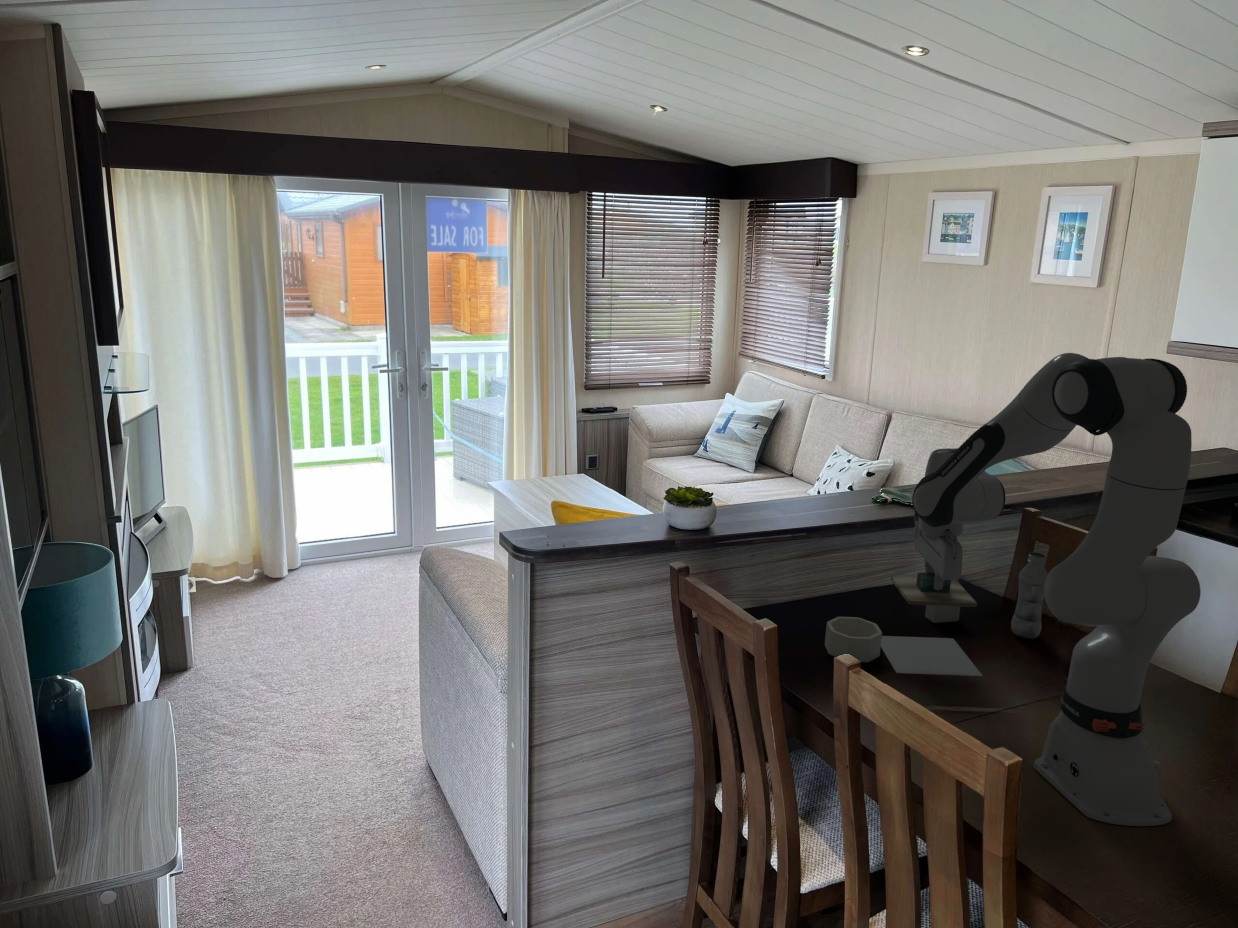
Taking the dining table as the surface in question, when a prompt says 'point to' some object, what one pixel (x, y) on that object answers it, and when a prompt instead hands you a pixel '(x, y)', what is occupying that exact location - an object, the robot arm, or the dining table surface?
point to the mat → (927, 656)
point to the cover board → (932, 591)
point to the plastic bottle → (1030, 597)
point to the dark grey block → (942, 613)
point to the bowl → (853, 638)
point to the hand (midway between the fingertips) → (933, 584)
